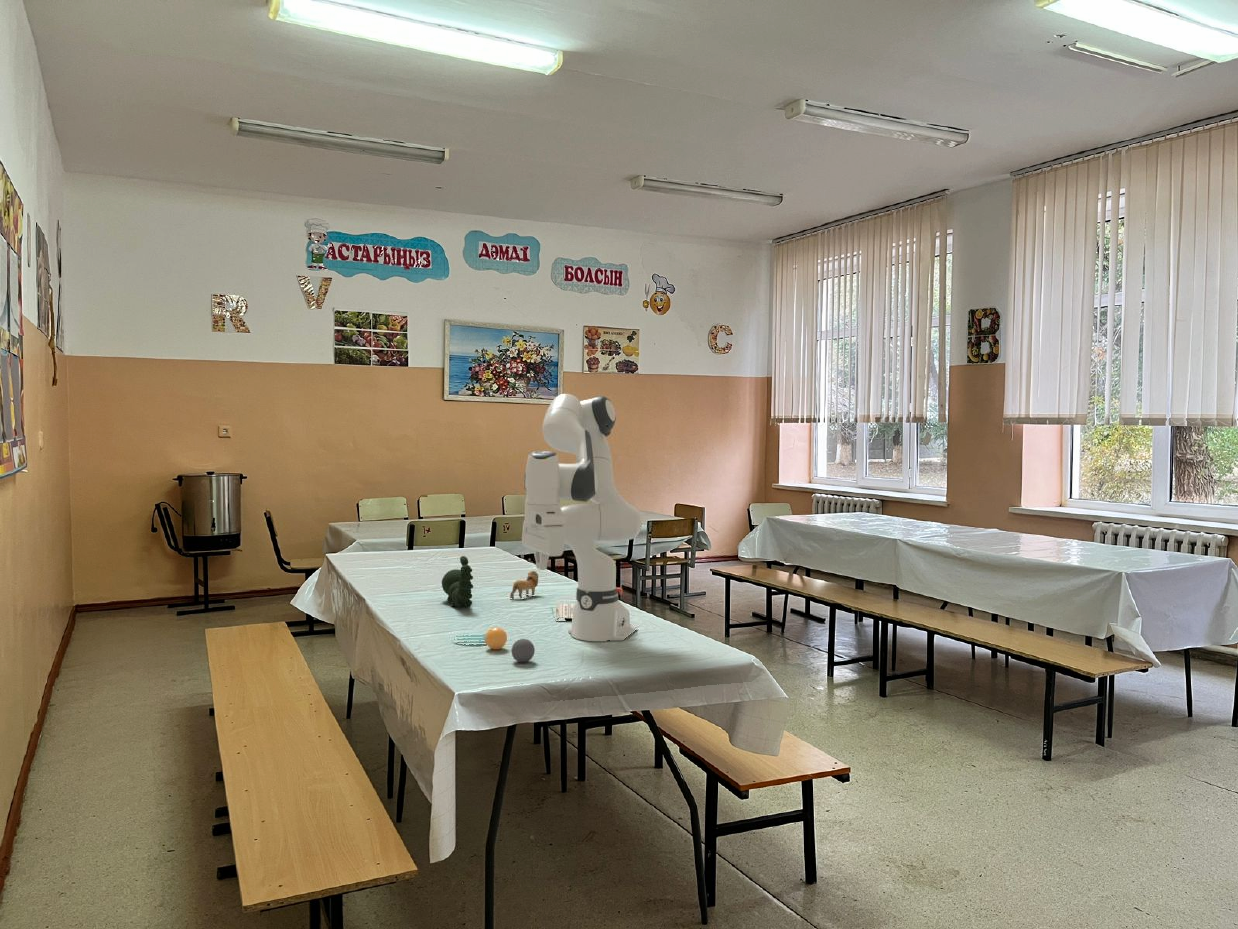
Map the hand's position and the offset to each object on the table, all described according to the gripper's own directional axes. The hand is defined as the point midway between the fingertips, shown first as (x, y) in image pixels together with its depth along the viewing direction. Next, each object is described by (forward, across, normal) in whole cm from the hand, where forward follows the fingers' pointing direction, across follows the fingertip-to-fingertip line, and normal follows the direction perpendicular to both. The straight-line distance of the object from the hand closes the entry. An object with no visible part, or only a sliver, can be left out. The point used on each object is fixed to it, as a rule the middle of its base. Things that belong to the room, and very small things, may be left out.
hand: (541, 569), depth 212 cm
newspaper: (+26, -52, +31) cm, 66 cm away
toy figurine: (+25, -81, +2) cm, 85 cm away
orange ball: (+22, -20, -5) cm, 30 cm away
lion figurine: (+25, -84, +27) cm, 91 cm away
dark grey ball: (+22, -6, -3) cm, 23 cm away
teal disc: (+25, -32, -7) cm, 41 cm away
